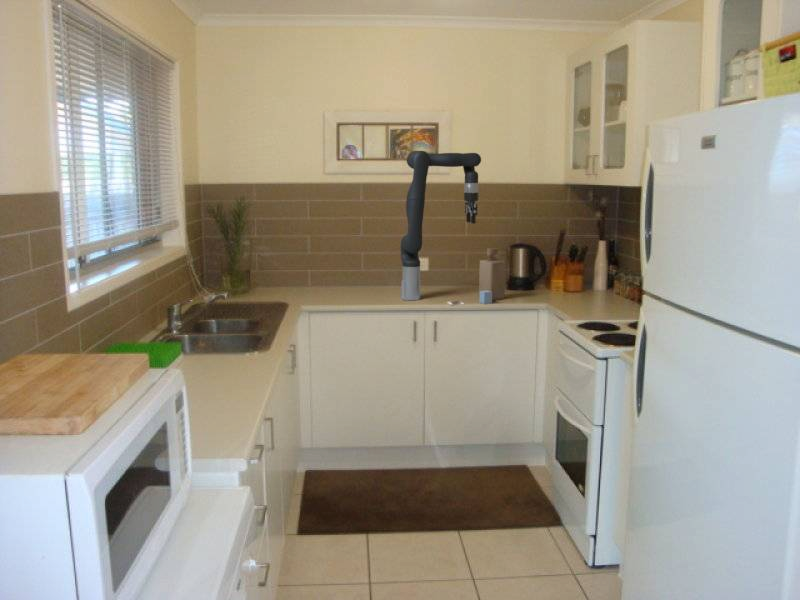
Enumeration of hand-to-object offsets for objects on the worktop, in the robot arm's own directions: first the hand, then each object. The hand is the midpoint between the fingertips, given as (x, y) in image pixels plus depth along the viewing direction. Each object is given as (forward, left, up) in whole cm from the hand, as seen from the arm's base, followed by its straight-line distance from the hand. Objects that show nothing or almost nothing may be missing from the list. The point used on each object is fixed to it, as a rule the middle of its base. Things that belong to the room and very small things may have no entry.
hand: (470, 222), depth 373 cm
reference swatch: (-15, -25, -38) cm, 48 cm away
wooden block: (+7, -16, -38) cm, 42 cm away
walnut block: (+7, -16, -18) cm, 25 cm away
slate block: (0, -27, -38) cm, 47 cm away
